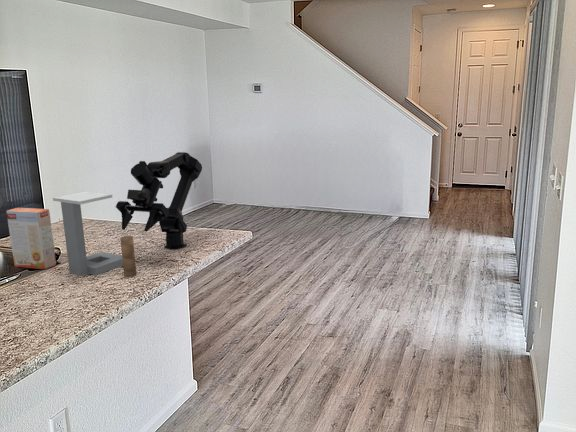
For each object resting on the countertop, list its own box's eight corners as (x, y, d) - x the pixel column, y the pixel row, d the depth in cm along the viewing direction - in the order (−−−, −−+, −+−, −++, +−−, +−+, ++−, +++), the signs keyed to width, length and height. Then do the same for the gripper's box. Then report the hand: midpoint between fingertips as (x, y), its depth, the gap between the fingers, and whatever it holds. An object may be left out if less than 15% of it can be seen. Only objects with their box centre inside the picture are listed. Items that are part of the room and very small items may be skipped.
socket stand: (102, 257, 196) (95, 189, 190) (128, 263, 189) (121, 192, 183) (62, 271, 182) (52, 197, 176) (88, 277, 175) (79, 201, 169)
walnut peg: (130, 272, 180) (127, 235, 177) (139, 273, 178) (135, 236, 175) (121, 275, 177) (117, 238, 174) (129, 277, 175) (126, 239, 172)
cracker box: (57, 265, 189) (50, 208, 185) (44, 270, 184) (36, 212, 179) (26, 261, 194) (18, 206, 189) (13, 267, 188) (5, 210, 184)
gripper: (115, 178, 186) (99, 217, 178) (161, 180, 180) (146, 220, 172) (131, 195, 195) (116, 232, 188) (175, 198, 189) (161, 236, 182)
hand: (134, 230), depth 182 cm, fingers open, 9 cm apart
